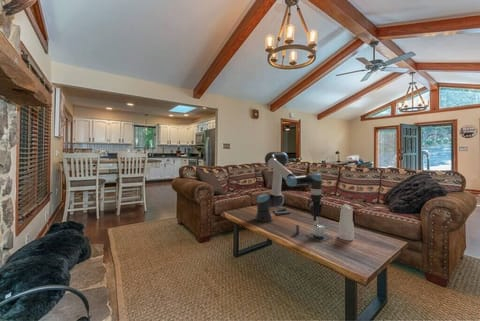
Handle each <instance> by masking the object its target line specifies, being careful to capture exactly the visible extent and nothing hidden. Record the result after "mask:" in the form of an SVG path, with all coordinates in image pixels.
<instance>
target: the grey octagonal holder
mask: <svg viewBox="0 0 480 321" xmlns="http://www.w3.org/2000/svg"><path fill="white" fill-rule="evenodd" d="M317 226H321V227H317ZM312 233H313V234H314V235H316V236H324V235H325V234H326V226H325V225H324V224H320V223H318V225H314V224H313V225H312Z"/></svg>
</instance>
